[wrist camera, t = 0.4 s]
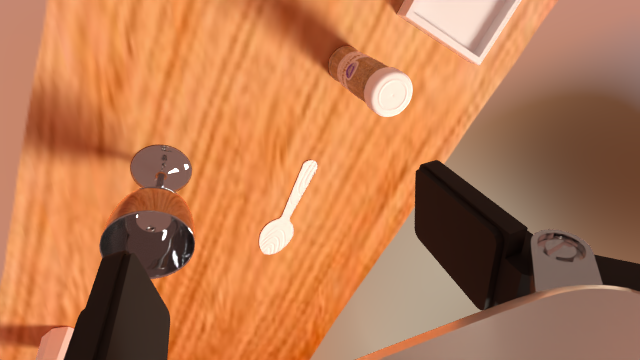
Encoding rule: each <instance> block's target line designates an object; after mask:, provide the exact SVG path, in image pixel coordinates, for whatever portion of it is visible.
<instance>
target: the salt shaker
mask: <svg viewBox="0 0 640 360" xmlns="http://www.w3.org/2000/svg"><path fill="white" fill-rule="evenodd" d="M73 331H74V328H72V327H69V326H68V327H60V328H53V329H51V330H50V331H49V332H48V333H46V334H45V335H44V336H43V337H42V339H41V343H40V346H39V350H38V353H37V357H36V360H64V357H65V354H66V351H67V348H68V345H69V342H70V340H71V337H72V334H73Z"/></svg>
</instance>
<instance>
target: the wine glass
mask: <svg viewBox="0 0 640 360" xmlns="http://www.w3.org/2000/svg"><path fill="white" fill-rule="evenodd" d="M131 174H132V177H133V179H134V180H135V182H136V183H137V184H138V185H139V186H140V187H142V188H140V189H138V190H135V191H133V192H132V193H130V194H129V195H127V196H126V197H125V198H124V199H123V200H122V201H121V202H120V203H119V204H118V205H117V206H116V208H115V209H114V210H113V212H112V213H111V215H110V217H109V219H108V221H107V223H106V225H105V228H104V230H103V233H102V236H101V240H100V245H99V246H100V253H101V256H102V258H103V257H104V256H107V255H110V254H113V253H117V252H120V251H124V250H125V251H127V252H128V253H129V254H131V253H135V254H136V256H137V257H138V259H139V261H140V262H141V264H142V266H143V268H144V269H145V271H146V273H147V274H148V276H149V278H150V279H155V278H161V277H164V276H168V275H170V274H172V273H175V272H176V271H178V270H180V269H181V268H182V267H183V266H185V265H186V264H187V263H188V261H189V260H190V258H191V257H192V255H193V252H194V247H195V228H194V222H193V218H192V214H191V212H190V210H189V207H188V205H187V204H186V202H185V201H184V200H183V198H182V197H181V196H180V195H178V194H177V193H176V191H179V190H180V189H182V188H183V187H184V186H186V184H187V183H188V182H189V180H190V178H191V175H192V167H191V164H190V161H189V160H188V158H187V157H186V156H185V154H183V153H182V152H181V151H179V150H178V149H176V148H173V147H171V146H166V145H153V146H149V147H146V148H144V149H142V150H141V151H139V152H138V153H137V154H136V155H135V157H134V158H133V160H132V162H131Z"/></svg>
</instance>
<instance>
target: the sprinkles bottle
mask: <svg viewBox="0 0 640 360" xmlns="http://www.w3.org/2000/svg"><path fill="white" fill-rule="evenodd" d="M328 66H329V72H330V74H331V76H332V77H333V78H334V79H335V80H336V81H338V82H340V83H341V84H342V85H343V86H344V87H345V88H347V89H348V90H349V91H350V92H352V93H353V94H354V95H355V96H357V97H358V98H359V99H361V100H363V101H364V102H365V103H366V104H367V106H368V107H369V108H370V109H371V110H373V111H374V112H375V113H377V114H378V115H380V116H384V117H391V116H394V115H397V114H399V113H400V112H401V111H403V110H404V109H405V108H406V106H407V105H408V104H409V102H410V100H411V97H412V92H413V87H412V83H411V80H410V78H409V77H408V76H407V75H406V74H405V73H403V72H401V71H400V70H398V69H396V68H393V67H388V66H386V65H384V64H383V63H381V62H379V61H377V60H375V59H373V58H371V57H369V56H367V55H365V54H363V53H361V52H358V51H357V50H356V49H355V48H353V47H350V46H344V47H340V48H338V49H337V50H336V51H335V52H334V53H333V54H332V55H331V57H330V59H329V64H328Z"/></svg>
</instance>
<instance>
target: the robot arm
mask: <svg viewBox="0 0 640 360" xmlns="http://www.w3.org/2000/svg"><path fill="white" fill-rule="evenodd" d="M415 233H416V235H417V237H418V239H419V240H420V241H421V242H422V243H423V244H424V246H425V247H426V248H427V249H428V250H429V252H430V253H431V254H432V255H433V256H434V258H435V259H436V260H437V261H438V262H439V263H440V265H441V266H442V267H443V268H444V269H445V270H446V272H447V273H448V274H449V275H450V276H451V278H452V279H453V280H454V281H455V282H456V283H457V285H458V286H459V287H460V288H461V289H462V290H463V292H464V293H465V294H466V295H467V296H468V297H469V299H470V300H471V301H472V302H473V303H474V305H475V306H476V307H477V308H478V309H480V310H483V311H481V312H478V313H475V314H473V315H470V316H467V317H464V318H462V319H459V320H457V321H454V322H452V323H449V324H446V325H444V326H441V327H438V328H436V329H433V330H431V331H428V332H425V333H423V334H420V335H417V336H415V337H412V338H410V339H407V340H404V341H402V342H399V343H396V344H394V345H391V346H389V347H386V348H384V349H381V350H378V351H376V352H373V353H371V354H368V355H366V356H363V357H360V358H358V359H355V360H640V264H636V263H632V262H627V261H622V260H617V259H613V258H608V257H602V256H598V255H594V253H593V250H592V249H591V247H590V245H588V244H587V243H586V242H585V241H584V240H583V239H581V238H579V237H578V236H576V235H574V234H571V233H569V232H565V231H561V230H553V229H552V230H551V229H548V230H541V231H539V232H537V233H535V234H534V235H533V234H531V233H530V232H529V231H527V227H526V226H525V225H523V224H522V223H521V222H519V221H518V220H517V219H515V218H514V217H512V216H511V215H510V214H509V213H507V212H506V211H504V210H503V209H502V208H501V207H499V206H498V205H497V204H495V203H494V202H493V201H491V200H490V199H489V198H487V197H486V196H485V195H483V194H482V193H481V192H480V191H478V190H477V189H475V188H474V187H473V186H472V185H470V184H469V183H468V182H466V181H465V180H464V179H462V178H461V177H460V176H458V175H457V174H456V173H454V172H453V171H452V170H450V169H449V168H448V167H446V166H445V165H444V164H442V163H441V162H440V161H438V160H435V161H431V162H428V163H424V164H421V165H420V167H419V169H418V170H417V171H416V181H415ZM169 329H170V315H169V311H168V309H167V307H166V305H165V304H164V302H163V300H162V298H161V297H160V295H159V293H158V292H157V290H156V288H155V286H154V285H153V283H152V281H151V280H150V278H149V276H148V274H147V273H146V271H145V269H144V268H143V266H142V264H141V262H140V261H139V259H138V257H137V256H136V254H135V253H131V254H129V253H128V252H127V251H125V250H124V251H120V252H117V253H113V254H110V255H107V256H104V257H103V258H102V261H101V263H100V266H99V269H98V272H97V275H96V278H95V281H94V284H93V287H92V290H91V293H90V296H89V299H88V302H87V305H86V308H85V309H84V310H83V311H82V312H81V313H80V315H79V317H78V320H77V322H76V325H75V328H74V331H73V334H72V337H71V340H70V342H69V345H68V348H67V351H66V354H65V357H64V360H167V355H168V342H169Z"/></svg>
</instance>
